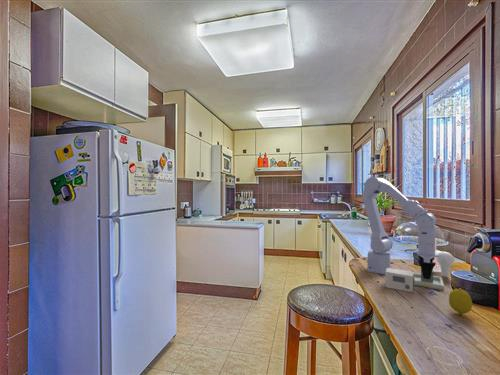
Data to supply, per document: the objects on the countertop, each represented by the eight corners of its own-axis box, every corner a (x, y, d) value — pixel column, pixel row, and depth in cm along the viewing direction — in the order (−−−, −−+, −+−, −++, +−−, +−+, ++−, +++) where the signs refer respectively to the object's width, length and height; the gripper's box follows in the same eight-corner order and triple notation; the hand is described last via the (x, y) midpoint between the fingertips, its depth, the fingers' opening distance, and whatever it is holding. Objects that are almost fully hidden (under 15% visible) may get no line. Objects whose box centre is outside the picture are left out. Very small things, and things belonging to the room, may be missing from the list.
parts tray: (410, 284, 101) (410, 280, 101) (411, 276, 110) (411, 272, 110) (443, 290, 95) (443, 285, 95) (441, 281, 104) (441, 277, 104)
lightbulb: (457, 279, 106) (457, 254, 106) (441, 278, 107) (441, 253, 107) (449, 274, 112) (449, 250, 112) (433, 274, 113) (433, 249, 113)
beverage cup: (428, 267, 122) (428, 238, 122) (444, 270, 118) (444, 240, 118) (426, 270, 117) (426, 241, 117) (443, 273, 113) (443, 242, 113)
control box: (385, 287, 98) (385, 272, 98) (387, 282, 103) (387, 267, 103) (414, 293, 93) (414, 277, 93) (414, 287, 98) (414, 272, 98)
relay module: (421, 282, 102) (421, 269, 102) (421, 279, 105) (421, 267, 105) (433, 284, 99) (433, 271, 99) (432, 281, 103) (432, 268, 103)
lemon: (466, 311, 79) (466, 286, 79) (476, 320, 74) (476, 293, 74) (445, 308, 81) (445, 284, 81) (453, 317, 76) (453, 290, 76)
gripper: (439, 247, 94) (439, 283, 94) (437, 240, 106) (437, 272, 106) (417, 245, 98) (417, 279, 98) (417, 238, 110) (417, 269, 110)
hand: (426, 275), depth 102 cm, fingers open, 7 cm apart
